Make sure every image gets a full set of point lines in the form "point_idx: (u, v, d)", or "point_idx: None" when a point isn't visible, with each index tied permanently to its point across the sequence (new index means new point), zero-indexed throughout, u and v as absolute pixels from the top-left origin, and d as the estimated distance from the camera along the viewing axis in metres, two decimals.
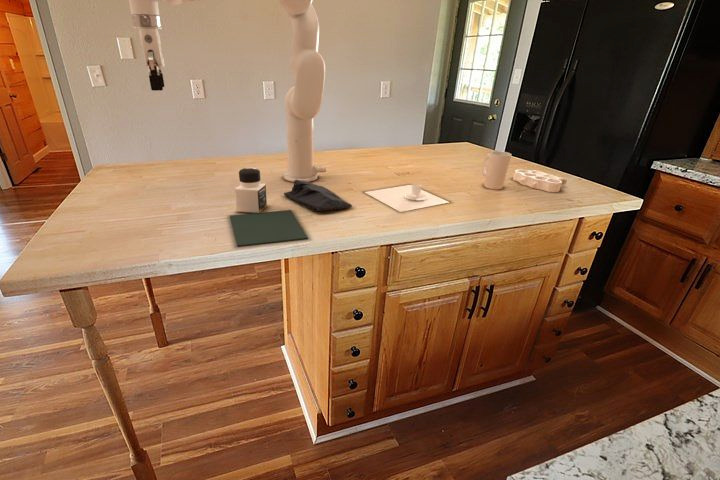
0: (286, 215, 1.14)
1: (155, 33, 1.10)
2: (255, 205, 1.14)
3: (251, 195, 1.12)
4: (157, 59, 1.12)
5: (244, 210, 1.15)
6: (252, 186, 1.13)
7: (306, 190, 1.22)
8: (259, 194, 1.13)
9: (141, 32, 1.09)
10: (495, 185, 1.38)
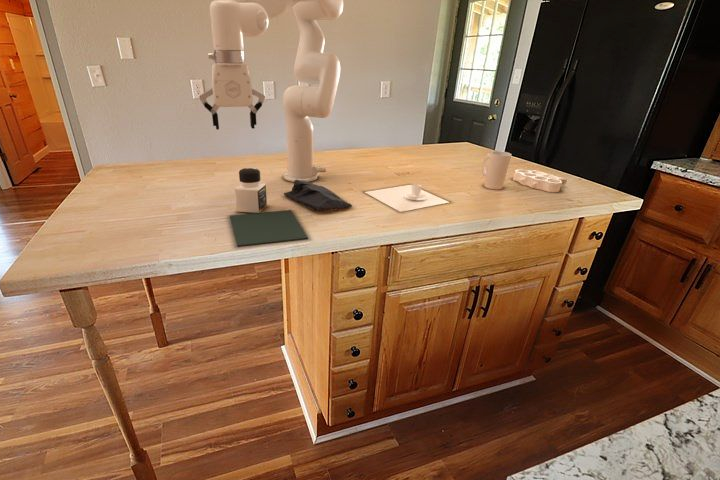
0: (286, 215, 1.14)
1: (213, 69, 0.99)
2: (255, 205, 1.14)
3: (251, 195, 1.12)
4: (213, 97, 1.02)
5: (244, 210, 1.15)
6: (252, 186, 1.13)
7: (306, 190, 1.22)
8: (259, 194, 1.13)
9: None
10: (495, 185, 1.38)
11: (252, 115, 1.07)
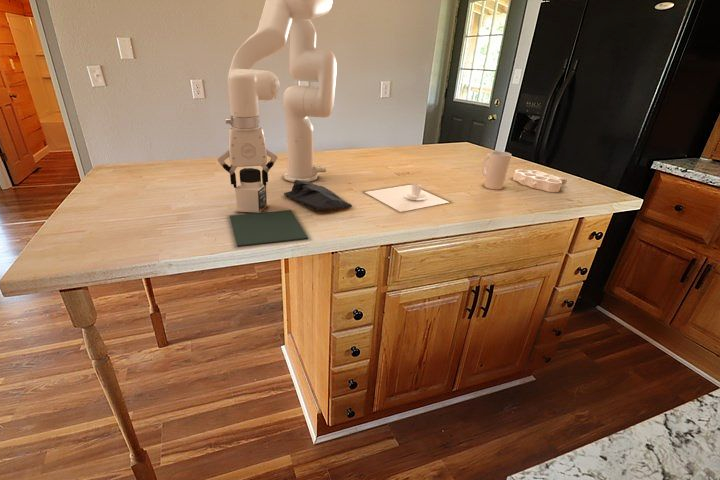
0: (286, 215, 1.14)
1: (230, 134, 1.04)
2: (255, 205, 1.14)
3: (252, 195, 1.12)
4: None
5: (244, 210, 1.15)
6: (253, 186, 1.13)
7: (306, 190, 1.22)
8: (259, 194, 1.13)
9: None
10: (495, 185, 1.38)
11: (264, 174, 1.13)
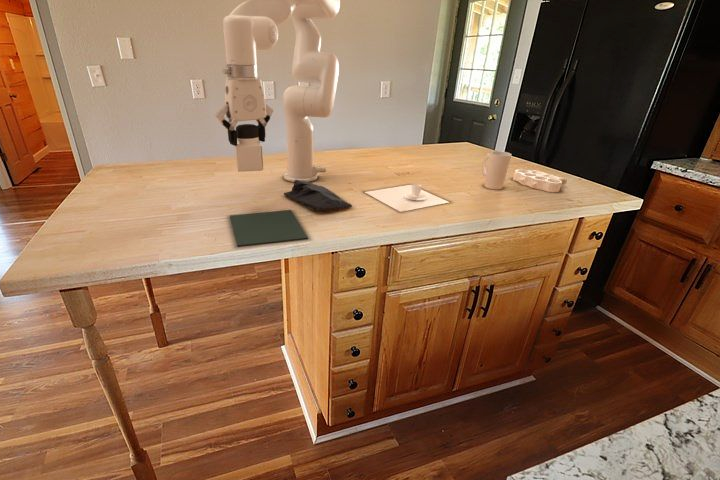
0: (286, 215, 1.14)
1: (231, 84, 0.98)
2: (258, 162, 1.09)
3: (254, 152, 1.07)
4: (231, 113, 1.01)
5: (246, 169, 1.09)
6: (253, 142, 1.07)
7: (306, 190, 1.22)
8: (261, 150, 1.08)
9: (225, 83, 1.00)
10: (495, 185, 1.38)
11: (263, 129, 1.08)
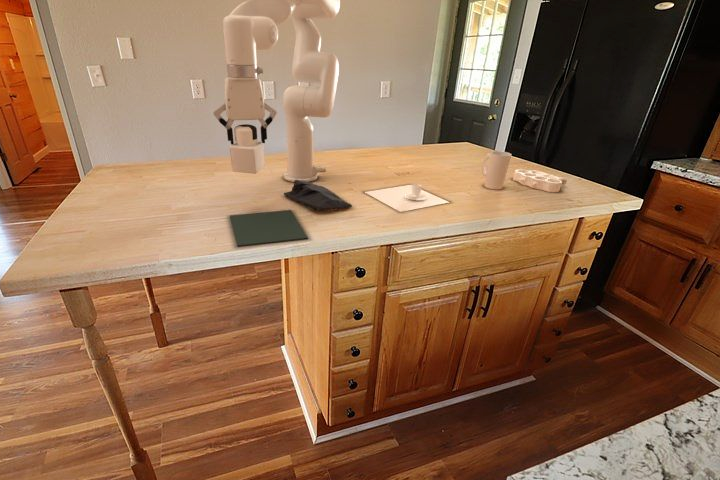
0: (286, 215, 1.14)
1: None
2: None
3: None
4: None
5: None
6: None
7: (306, 190, 1.22)
8: None
9: (260, 83, 1.01)
10: (495, 185, 1.38)
11: None
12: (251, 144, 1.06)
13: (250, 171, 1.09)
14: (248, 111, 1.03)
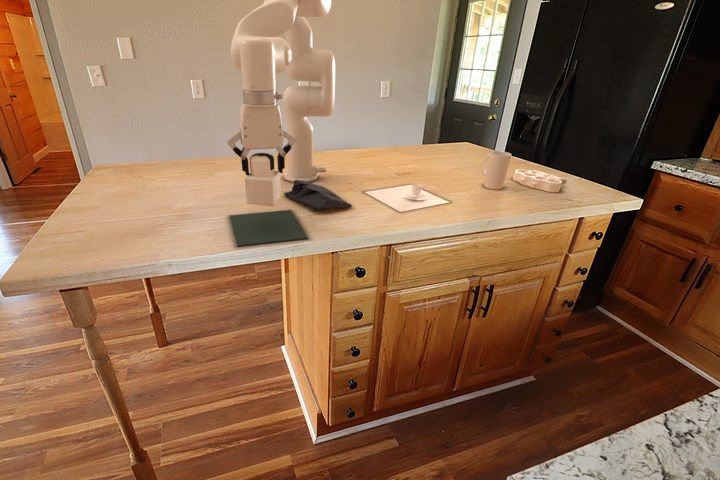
0: (286, 215, 1.14)
1: None
2: None
3: None
4: None
5: None
6: None
7: (306, 190, 1.22)
8: None
9: (279, 109, 0.92)
10: (495, 185, 1.38)
11: None
12: (268, 175, 0.97)
13: (267, 203, 1.00)
14: (265, 139, 0.94)
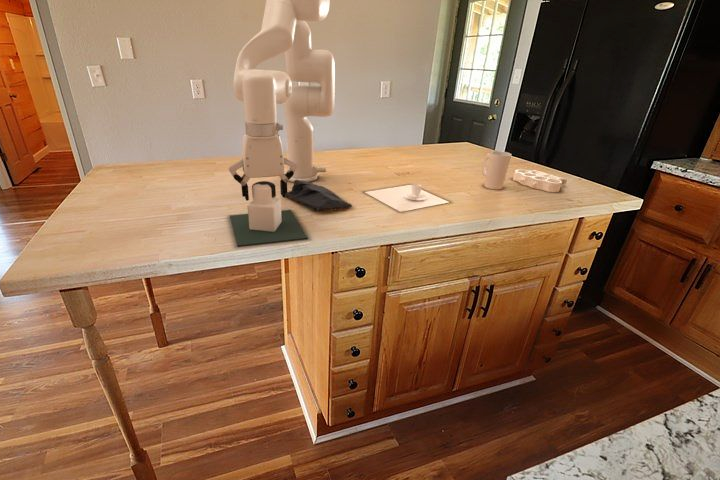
0: (286, 215, 1.14)
1: None
2: None
3: None
4: None
5: None
6: None
7: (306, 190, 1.22)
8: None
9: (280, 140, 0.95)
10: (495, 185, 1.38)
11: None
12: (270, 202, 1.01)
13: (268, 229, 1.03)
14: (267, 168, 0.97)
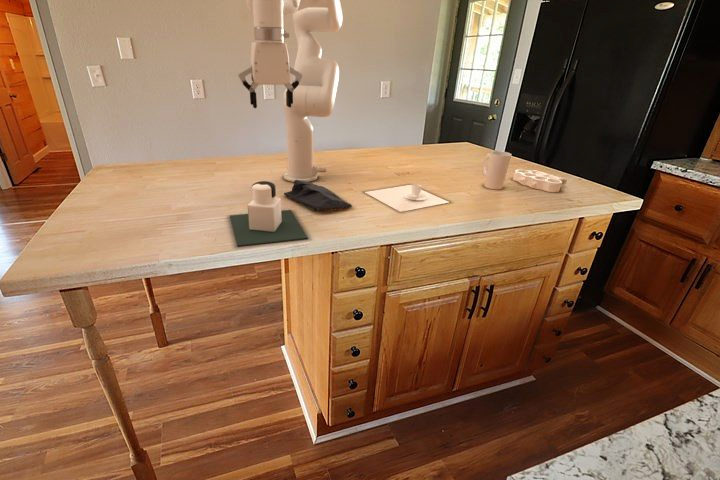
0: (286, 215, 1.14)
1: None
2: None
3: None
4: None
5: None
6: None
7: (306, 190, 1.22)
8: None
9: (286, 47, 1.02)
10: (495, 185, 1.38)
11: None
12: (270, 202, 1.01)
13: (268, 229, 1.03)
14: (274, 75, 1.04)
